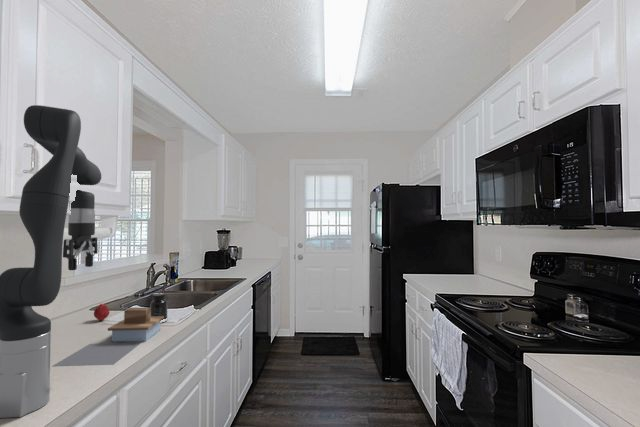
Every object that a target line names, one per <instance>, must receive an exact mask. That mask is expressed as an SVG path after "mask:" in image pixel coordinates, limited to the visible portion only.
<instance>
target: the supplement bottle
mask: <svg viewBox="0 0 640 427" xmlns="http://www.w3.org/2000/svg"><path fill="white" fill-rule="evenodd" d="M149 306H150V307H149V308H150V317H152V316H164V318H163V319H166V318H167V319H168V300H166V294H165V293H155V294H153V295H152V301H151V302H150V305H149ZM163 319H162V320H163Z"/></svg>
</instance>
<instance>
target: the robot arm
mask: <svg viewBox="0 0 640 427" xmlns="http://www.w3.org/2000/svg"><path fill="white" fill-rule="evenodd" d="M23 126H24V129H25V131H26V133H27V134H28V136H29V137H30V138H31V139H32V140H33V141H35V142H36V143H37V144H39V145H40V147H42V148H43V149H44V150H46V151H47V152H49V153H50V154H51V155H52V157H51V158H50V159H49V160H48V162H47V163H45V165H43V166H42V167H41V168H40V169H39V170H38V171H36V172H35V174H33V175H32V176H31V177H30V178H29V179H28V180H27V181H26V183H25V184H24V186H23V187H22V192H21V197H20V204H19V210H18V211H19V217H20V219H21V222H22V224H23V225H24V228H25V230H26V231H27V233H28V234H29V237H30V238H31V241H32V243H33V246H34V262H33V266H32V267H12V268H11V267H10V268H8V269H6V270H4V271H2V273H1V274H0V418H1V419H2V418H22V417H23V416H25V415H27V414H30V413H32V412H35V411H37V410H39V409H41V408H43V407H44V406H45V405H47V404H48V403H49V401H50V394H51V393H50V392H51V390H50V389H51V388H50V387H51V348H52V347H51V344H52V343H51V342H52V340H51V338H52V321H51V319H50V318H49V317H47V316H44V315H42V314H39V313H38V312H36V310H34V309H33V307H44V306H48V305H51V304H52V303H53V302H55V300H56V298H57V297H58V294H59V292H60V288H61V284H62V275H63V274H62V270H63V269H62V267H63V265H62V264H63V258H64V259H65V258H66V259H67V262H68V263H67V264H68V265H67V266H68V267H67V269H68V270H69V271H77V269H78V268H77V267H78V265H77V264H78V260H77V258H78V257H79V254H81V252H83V254H84V255H85V260H84V261H85V263H84V266H85V267H87V268H88V267H89V268H90V267H93V266H94V256H95V255H97V254H98V250H99V249H98V237H92V236H94V235H95V234H96V214H95V213H96V211H95V194H94V193H92V192H90V191H89V192H88V191H84V190H81V189H80V190H77V191H76V197H75V201H73V202H72V203H71V210H70V209H69V210H70V211H71V215H69V214H68V207H69V203H70V196H69V193H70V183H71V175H72V174H73V175H77V182H78V183H79V184H80V185H79V186H96V185H98V184H99V183H100V182H101V180H102V172H101V170H100V168H99V167H98V165H96V164H95V163H94V162H92V161H91V160H90V159H88V158H87V155H86V154H85V153H84V151H83V150H82V149H81V148H80V147H79V141H80V137H81V129H82V121H81V118H80V115H79V113H77V112H76V111H74V110H71V109H67V108H59V107H53V106H46V105H37V104H36V105H35V104H34V105H30V106H28V107H27V108H26V109H25V111H24V114H23ZM67 214H68V215H67ZM67 216H68V222H67V223H68V225H67V228H68V230H67V231H68V232H67V234H68V236H69V237H71V239H70V238H69V239H68V238H67V239H64V234H65V226H66V225H65V224H66V219H67Z"/></svg>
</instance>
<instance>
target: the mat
mask: <svg viewBox="0 0 640 427" xmlns="http://www.w3.org/2000/svg"><path fill="white" fill-rule="evenodd" d="M141 344H142V342H107V343H106V342H103V343H98V342H97V343H96V342H95V343H89V344H87V345H86V346H84V347H82V348H81V349H78V350H77V351H75V352H73V353H71V354H70V355H68V356H67V357H65V358H64V359H62V360H60V361H58V362H57V363H55V364H53V365H52V367H74V366H77V367H79V366H81V367H82V366H109V365H111V366H113V365H115V364H116V363H118V362H119V361H120V360H121V359H123V358H124V357H125V356H127V355H128V354H129V353H130V352H132V351H133V350H134V349H135V348H137V347H138V346H139V345H141Z"/></svg>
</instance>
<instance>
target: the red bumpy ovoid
mask: <svg viewBox="0 0 640 427" xmlns="http://www.w3.org/2000/svg"><path fill="white" fill-rule="evenodd" d="M109 315H110V308H109V306H107V305H106V304H104V303H103V302H100V304H99V305H98V306H97V307H96V308H94V311H93V316H94V318H96V320H99V321H100V322H103V321H104V320H105V319H107V318H108V316H109Z"/></svg>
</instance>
